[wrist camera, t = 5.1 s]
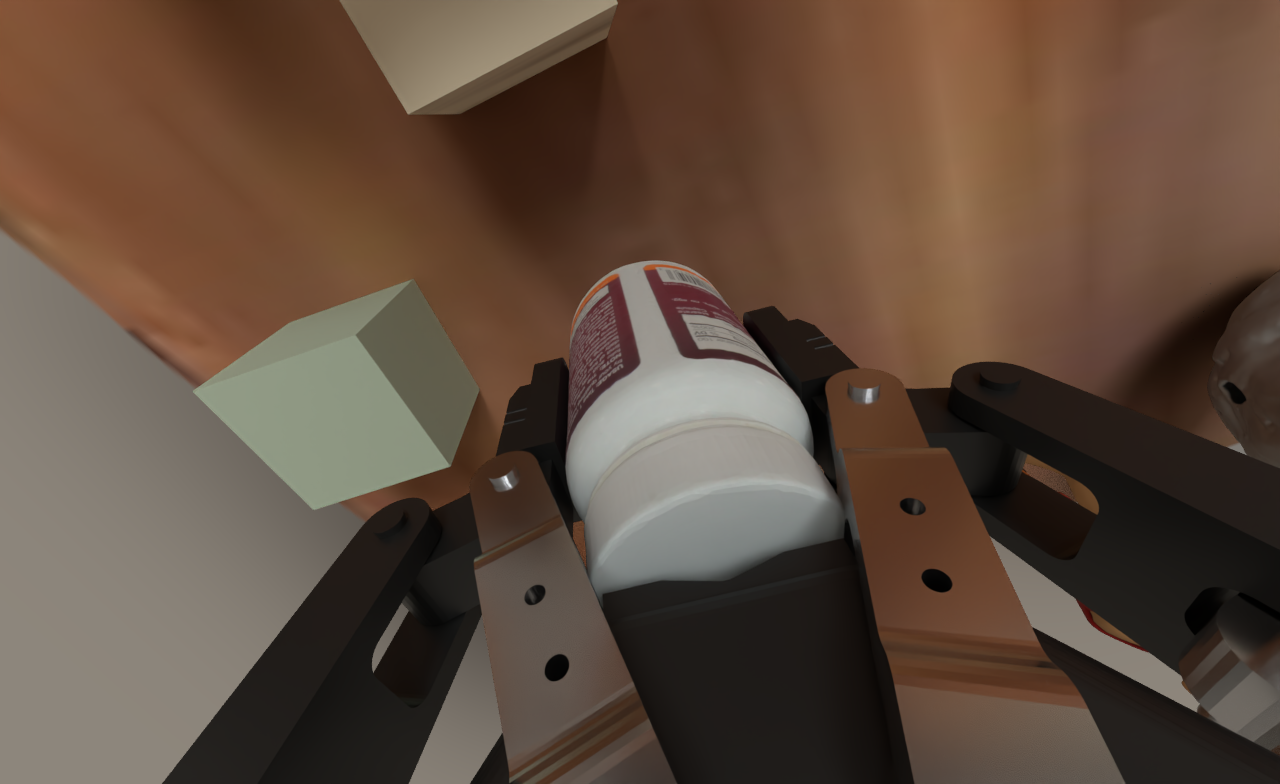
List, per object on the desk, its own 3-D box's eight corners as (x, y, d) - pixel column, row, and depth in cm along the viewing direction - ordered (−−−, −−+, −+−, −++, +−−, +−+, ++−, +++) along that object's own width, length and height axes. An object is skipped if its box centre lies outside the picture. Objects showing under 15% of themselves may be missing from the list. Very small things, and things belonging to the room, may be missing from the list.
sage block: (291, 321, 17) (192, 391, 13) (414, 278, 16) (355, 335, 12) (372, 423, 19) (313, 510, 15) (480, 388, 19) (450, 466, 15)
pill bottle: (603, 419, 15) (623, 697, 8) (544, 290, 12) (495, 530, 5) (741, 374, 15) (889, 623, 8) (709, 231, 12) (886, 407, 5)
